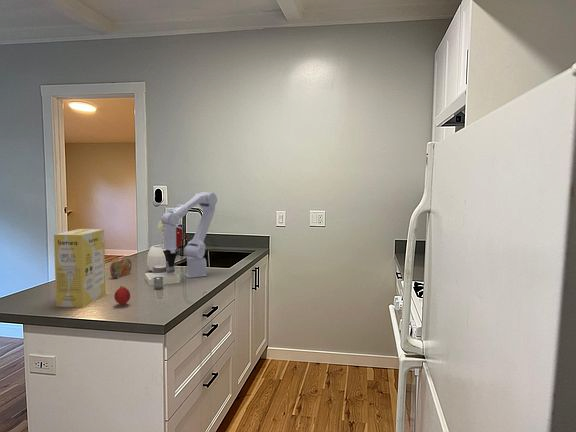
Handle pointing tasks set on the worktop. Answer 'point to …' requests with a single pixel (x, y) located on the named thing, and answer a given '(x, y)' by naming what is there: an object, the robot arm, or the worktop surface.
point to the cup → (156, 257)
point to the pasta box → (79, 267)
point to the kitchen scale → (161, 272)
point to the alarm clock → (179, 235)
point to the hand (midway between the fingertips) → (170, 265)
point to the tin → (120, 268)
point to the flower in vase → (162, 230)
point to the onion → (122, 295)
